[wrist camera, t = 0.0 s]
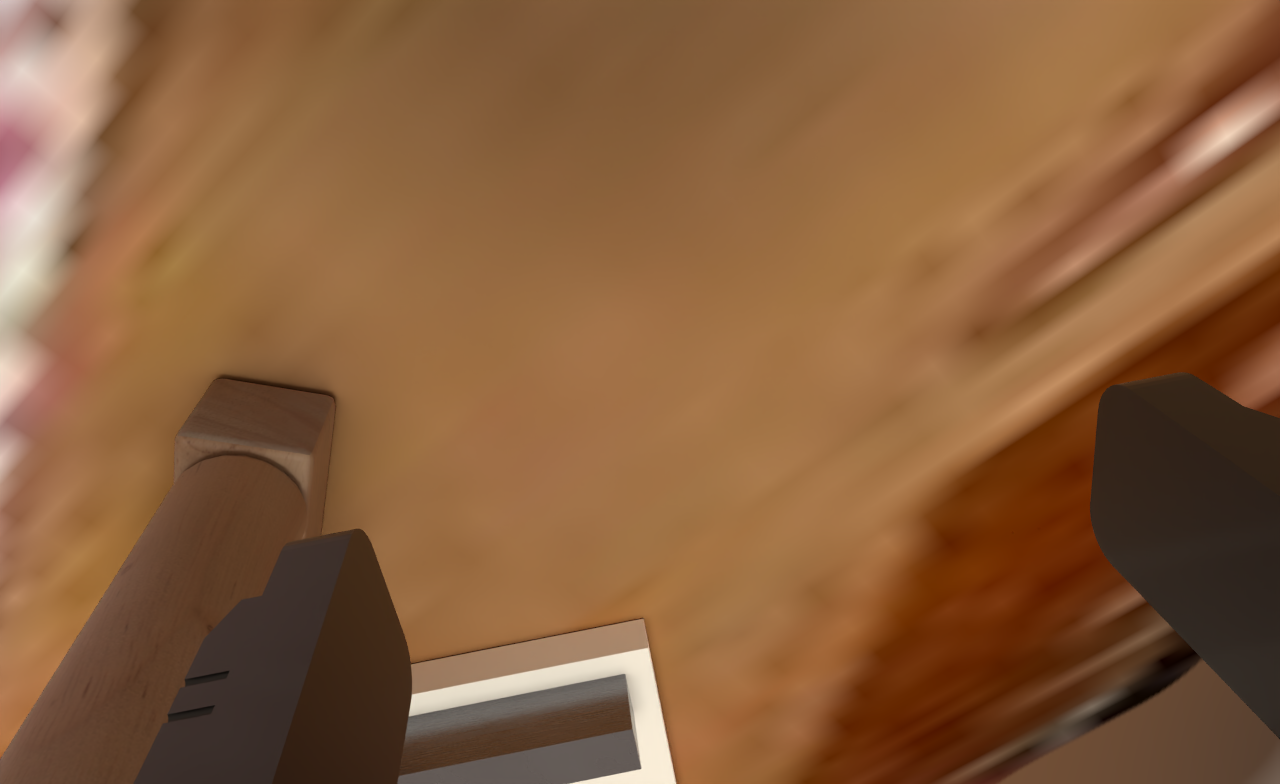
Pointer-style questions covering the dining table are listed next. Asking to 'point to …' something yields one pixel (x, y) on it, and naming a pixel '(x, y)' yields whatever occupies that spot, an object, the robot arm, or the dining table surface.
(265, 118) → the dining table surface
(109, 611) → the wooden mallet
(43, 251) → the dining table surface
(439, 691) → the slotted base
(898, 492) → the dining table surface
